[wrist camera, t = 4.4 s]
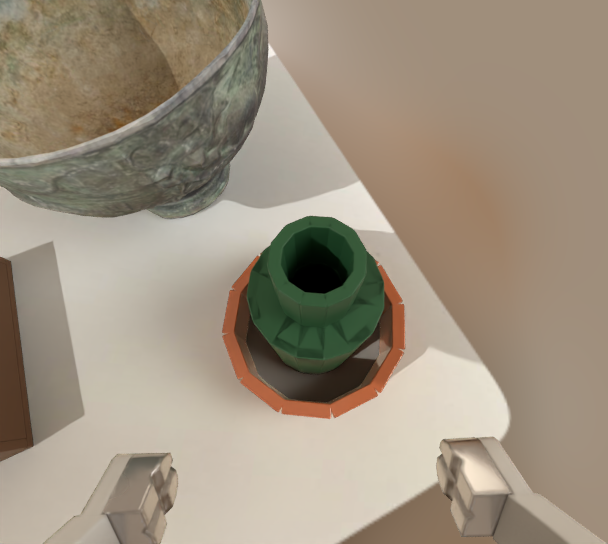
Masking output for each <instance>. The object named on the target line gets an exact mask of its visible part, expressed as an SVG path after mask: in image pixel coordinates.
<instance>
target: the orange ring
mask: <svg viewBox="0 0 608 544" xmlns="http://www.w3.org/2000/svg"><path fill="white" fill-rule="evenodd" d="M261 254H262V253H260V255H261ZM259 257H260V256H257V257H256V258H255V259H254V260H253V262H252V263H251V264H250V265H249V266H248V268H247V269H246V270H245V271H244V272H243V274H242V275H241V276H240V277H239V279H238V280H237V281H236V282H235V283H234V285H233V286H232V289H233V290H230V292H229V298H228V303H227V308H226V314H225V319H224V325H223V330H222V333H224V334H225V335H223V336H222V337H223V340H224V343H225V345H226V348H227V351H228V354H229V356H230V359H231V362H232V365H233V367H234V370H235V373H236V376H237V379H239V380H241V381H240V383H241V384H243V385H244V386H245V387H246V388H248V389H249V390H250V391H251V392H253V393H254V394H255V395H256V396H258V397H259V398H260V399H262V400H263V401H264V402H265V403H267V404H268V405H269V406H270V407H272V408H273V409H274V410H275V411H277V412H279V411H281V410H282V414H287V415H297V416H307V417H316V418H326V419H331V415H332V416H333V417H334V418H336V417H338V416H340V415H342V414H344V413H346V412H348V411H350V410H352V409H354V408H356V407H358V406H360V405H361V404H363V403H365V402H367V401H369V400H371V399H373V398H375V397H377V396H378V394H377V393H381V392H382V390H383V389H384V387H385V385H386V383H387V382H388V380H389V378H390V377H391V375H392V373H393V371H394V370H395V368H396V366H397V364H398V363H399V361H400V359H401V357H402V356H403V354H404V352H403V351H402V350H404V349H405V319H404V304H401V303H402V302H403V301H402V299H401V297H400V295H399V294H398V292H397V291H396V289H395V287H394V286H393V284H392V282H391V281H390V279H389V277H388V276H387V274H386V272H385V271H384V269H383V267H382V266H381V265H380V266H378V269H379V271H380V273H381V275H382V278H383V280H384V310H383V312H382V315H381V317H380V346H379V356H378V357H377V359H376V361H375V362H374V364H373V366H372V367H371V369H370V371H369V372H368V374H367V376H366V377H365V379H364V381H363V382H362V384H361V386H359V387H357V388H355V389H353V390H351V391H349V392H347V393H345V394H343V395H341V396H339V397H337V398H335V399H333V400H331V401H329V402H327V403H326V402H316V401H306V400H296V399H288V398H287V397H286V396H285V395H283V394H282V393H281V392H279V391H278V390H277V389H276V388H274V387H273V386H272V385H270V384H269V383H268V382H266V381H265V380H264V379H263V378H261V377H260V376H259V374H258V372H257V369H256V367H255V364H254V361H253V359H252V356H251V354H250V351H249V349H248V346H247V343H246V338H247V332H248V325H249V319H250V309H249V305H248V301H247V290H248V284H249V278H250V272H251V270H252V268H253V267H254V265H255V264H256V262H257V260H258V259H259ZM375 262H376V264H377V265H378V264H379V262H377V261H376V260H375Z"/></svg>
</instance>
